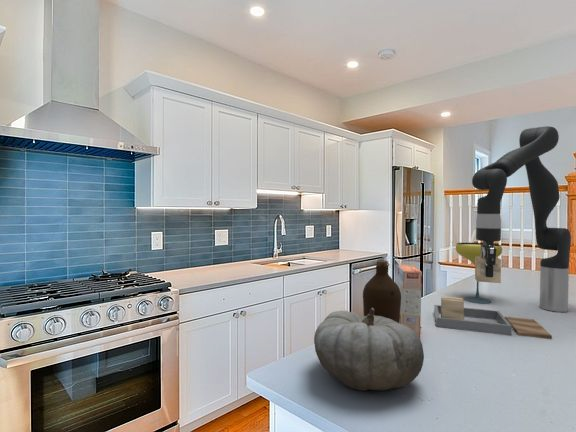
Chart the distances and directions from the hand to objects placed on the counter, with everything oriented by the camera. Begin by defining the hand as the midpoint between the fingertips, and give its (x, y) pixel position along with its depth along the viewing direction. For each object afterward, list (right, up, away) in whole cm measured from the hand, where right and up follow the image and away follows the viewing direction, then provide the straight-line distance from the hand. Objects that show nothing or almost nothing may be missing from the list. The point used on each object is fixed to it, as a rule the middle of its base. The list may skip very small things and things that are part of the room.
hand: (487, 275), depth 120 cm
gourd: (-52, -18, -39) cm, 67 cm away
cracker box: (-30, -17, -7) cm, 35 cm away
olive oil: (-43, -17, -21) cm, 51 cm away
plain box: (-11, -17, +4) cm, 21 cm away
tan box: (0, -2, 0) cm, 2 cm away
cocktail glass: (+15, -17, +34) cm, 41 cm away
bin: (-5, -17, +2) cm, 18 cm away
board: (+11, -17, -3) cm, 21 cm away
